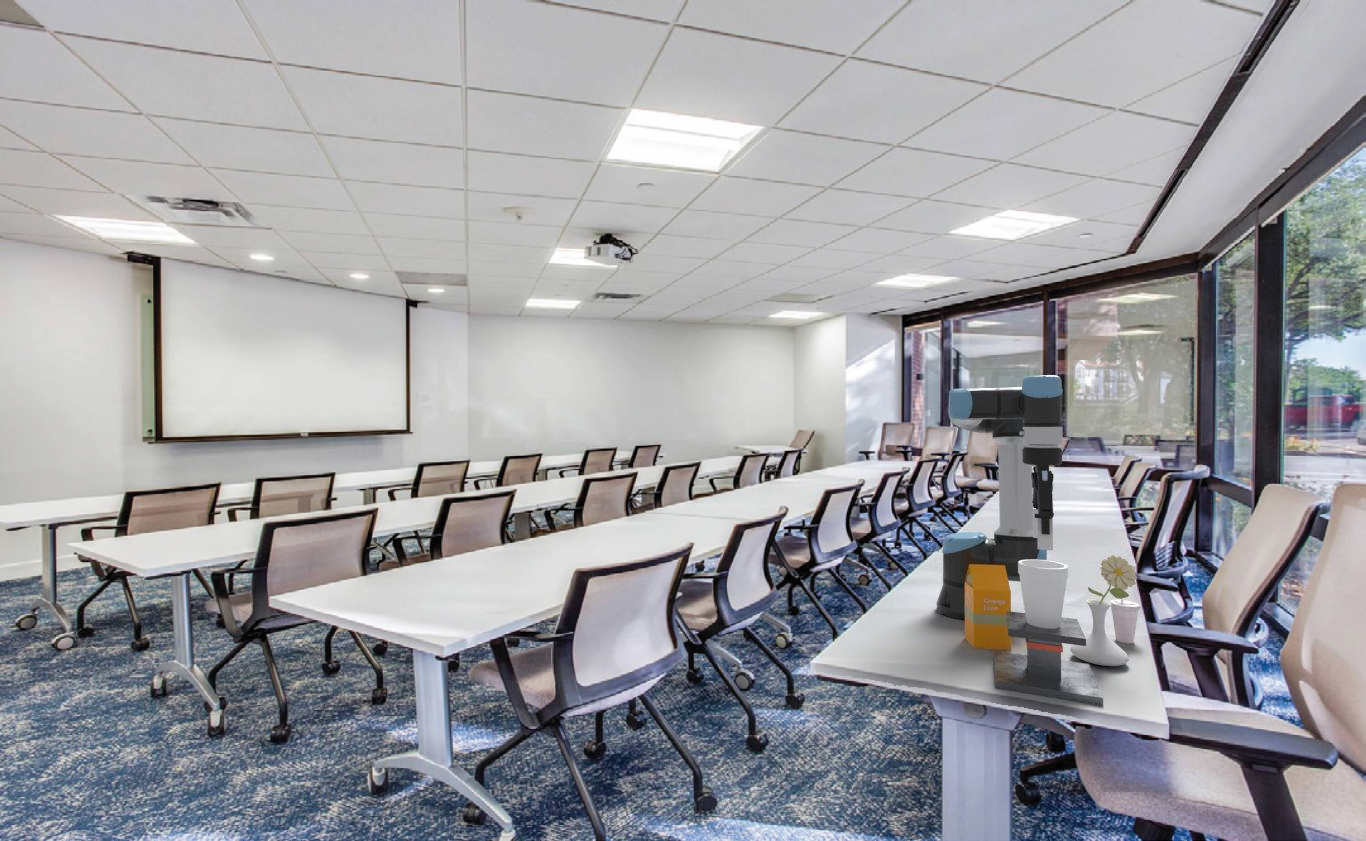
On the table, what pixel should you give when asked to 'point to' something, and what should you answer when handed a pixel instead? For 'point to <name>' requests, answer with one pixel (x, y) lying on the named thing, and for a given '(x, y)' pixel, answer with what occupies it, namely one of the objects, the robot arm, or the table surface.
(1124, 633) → the smoothie
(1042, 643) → the stand
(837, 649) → the table surface
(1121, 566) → the flower in vase
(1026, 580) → the foam cup
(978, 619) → the orange juice
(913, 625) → the table surface
